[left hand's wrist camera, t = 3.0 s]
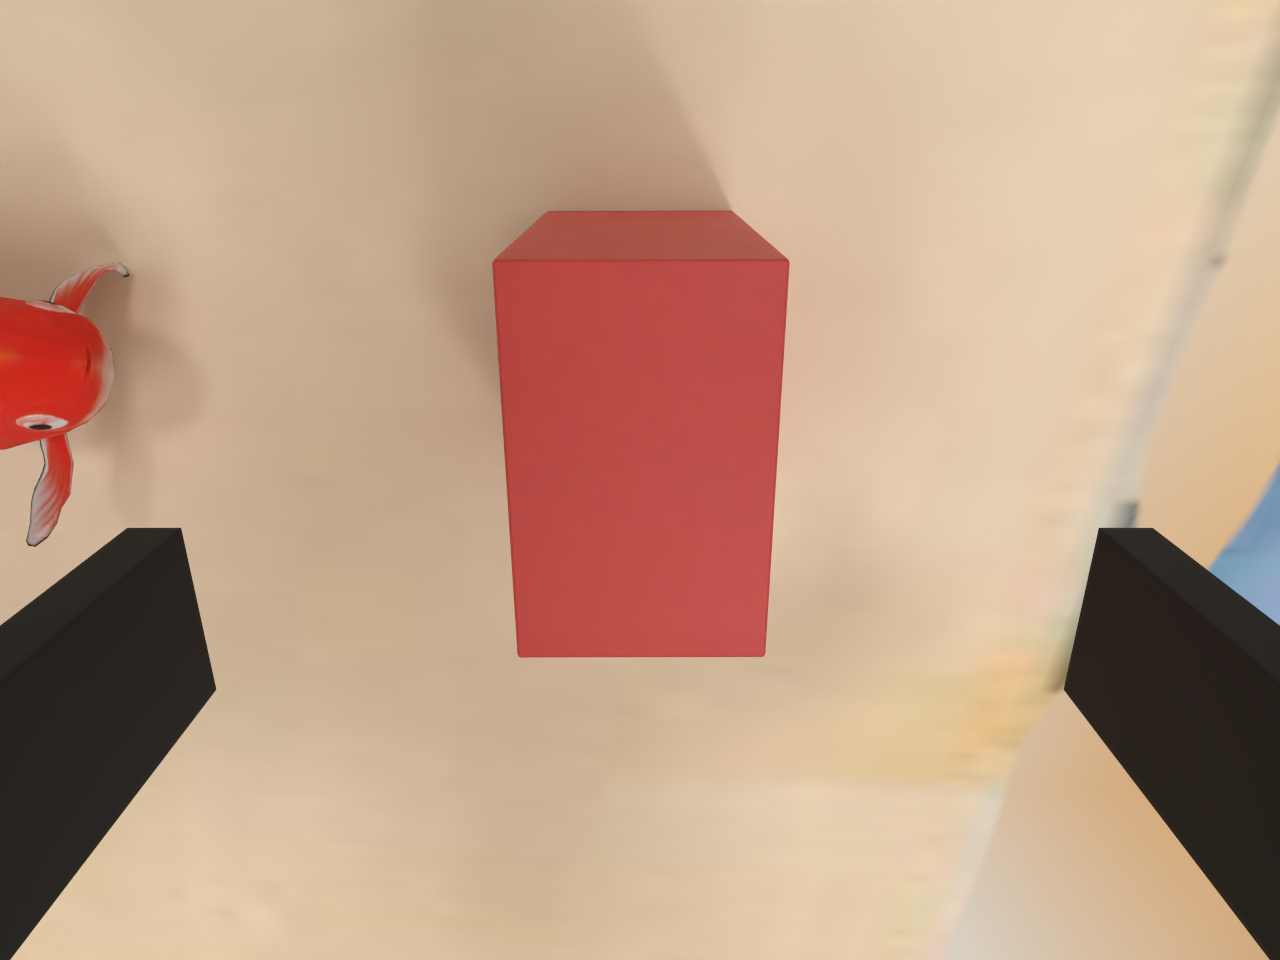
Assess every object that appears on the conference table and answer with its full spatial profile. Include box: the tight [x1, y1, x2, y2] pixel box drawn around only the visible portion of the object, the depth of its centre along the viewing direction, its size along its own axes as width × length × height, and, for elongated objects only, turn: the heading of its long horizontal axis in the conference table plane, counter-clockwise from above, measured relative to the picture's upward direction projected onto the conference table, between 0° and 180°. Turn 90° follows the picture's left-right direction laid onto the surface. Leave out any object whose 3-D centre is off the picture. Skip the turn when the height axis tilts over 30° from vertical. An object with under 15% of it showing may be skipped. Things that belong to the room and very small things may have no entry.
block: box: [492, 211, 789, 657], centre depth 22 cm, size 8×5×10 cm, turn 0°
